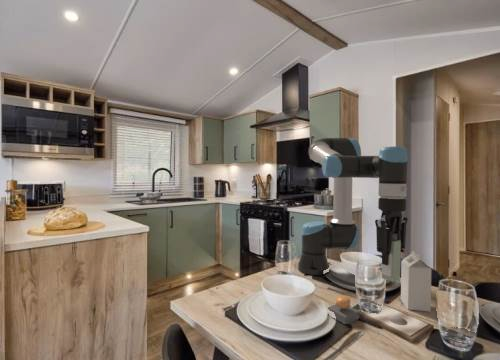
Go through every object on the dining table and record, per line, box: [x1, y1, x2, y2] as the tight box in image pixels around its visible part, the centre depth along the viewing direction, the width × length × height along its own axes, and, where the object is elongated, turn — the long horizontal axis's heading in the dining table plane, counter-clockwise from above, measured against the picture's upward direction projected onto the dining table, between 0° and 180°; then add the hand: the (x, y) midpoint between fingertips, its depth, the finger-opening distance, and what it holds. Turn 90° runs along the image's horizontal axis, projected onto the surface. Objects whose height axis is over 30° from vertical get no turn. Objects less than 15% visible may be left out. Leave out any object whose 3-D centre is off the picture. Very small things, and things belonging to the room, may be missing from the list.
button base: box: [327, 304, 360, 325], centre depth 86 cm, size 7×7×2 cm
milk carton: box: [400, 250, 432, 313], centre depth 94 cm, size 7×7×19 cm
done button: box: [335, 295, 351, 308], centre depth 86 cm, size 4×4×2 cm
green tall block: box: [381, 233, 401, 283], centre depth 81 cm, size 4×4×14 cm
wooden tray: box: [357, 303, 434, 344], centre depth 84 cm, size 18×13×2 cm
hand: (390, 273), depth 81 cm, fingers closed on green tall block, 4 cm apart
